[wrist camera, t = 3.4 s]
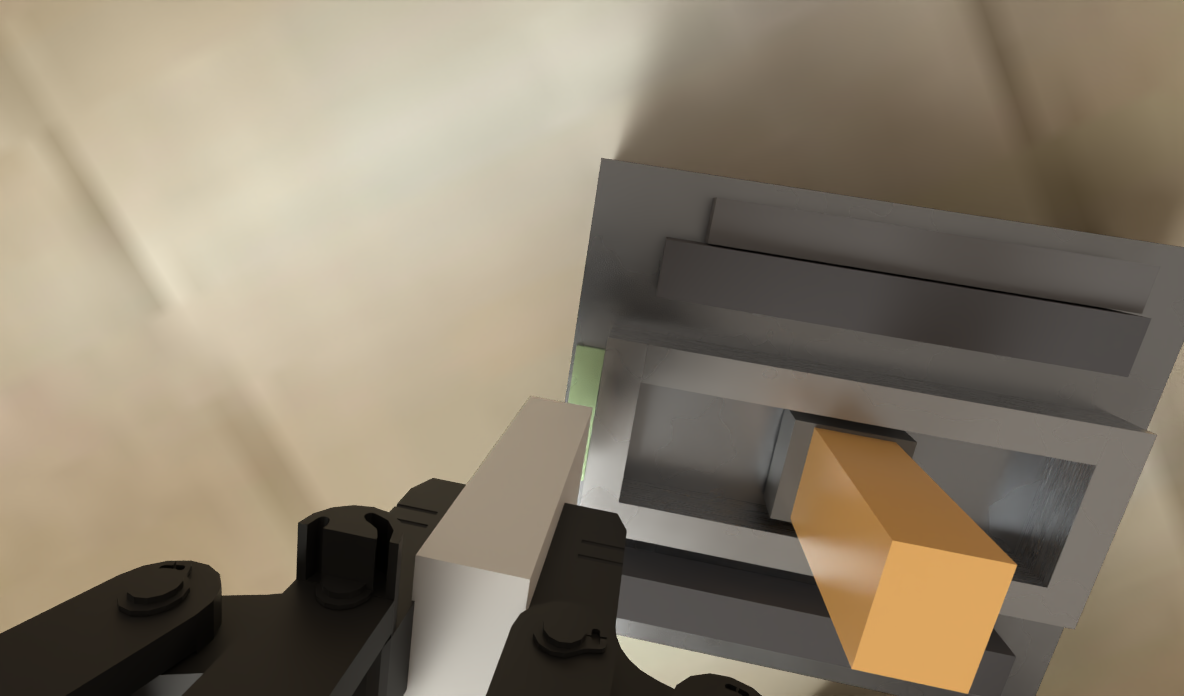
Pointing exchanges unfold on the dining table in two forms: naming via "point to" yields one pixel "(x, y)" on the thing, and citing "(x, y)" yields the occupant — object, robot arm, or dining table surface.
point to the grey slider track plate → (884, 307)
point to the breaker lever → (888, 550)
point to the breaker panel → (848, 413)
